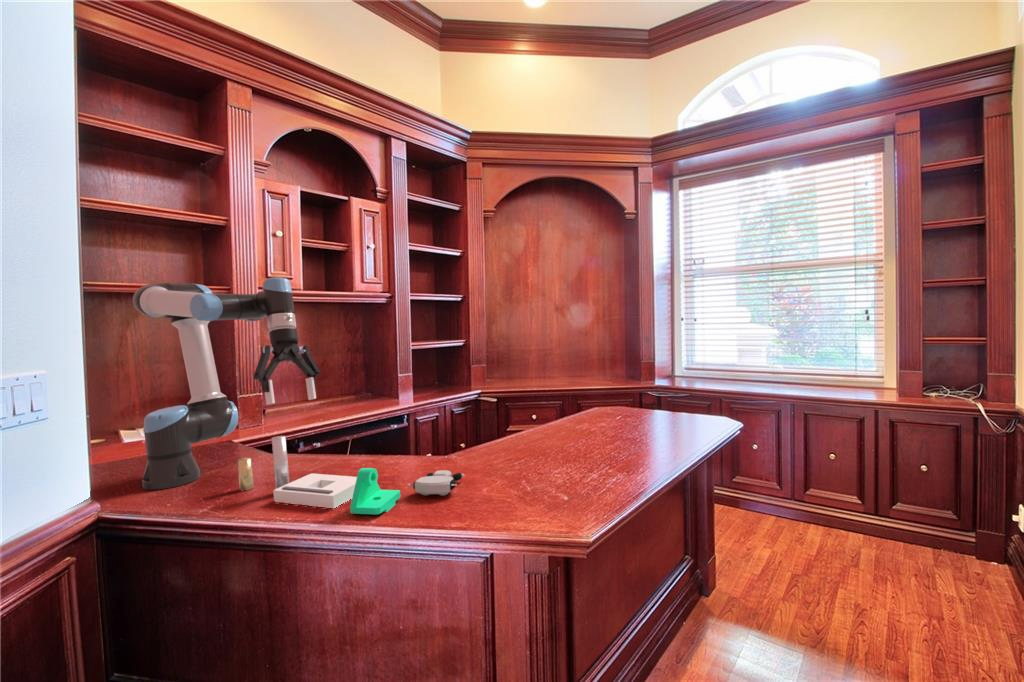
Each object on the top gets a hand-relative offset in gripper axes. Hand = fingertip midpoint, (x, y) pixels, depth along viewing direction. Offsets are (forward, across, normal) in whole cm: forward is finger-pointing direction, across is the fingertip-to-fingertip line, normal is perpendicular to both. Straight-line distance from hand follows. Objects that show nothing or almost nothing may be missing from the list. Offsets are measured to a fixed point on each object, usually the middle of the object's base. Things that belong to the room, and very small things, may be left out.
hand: (292, 401), depth 141 cm
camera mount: (+32, 0, -28) cm, 42 cm away
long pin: (+25, -2, +6) cm, 26 cm away
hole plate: (+28, 0, -7) cm, 28 cm away
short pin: (+23, -4, +20) cm, 30 cm away
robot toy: (+32, +16, -35) cm, 50 cm away
